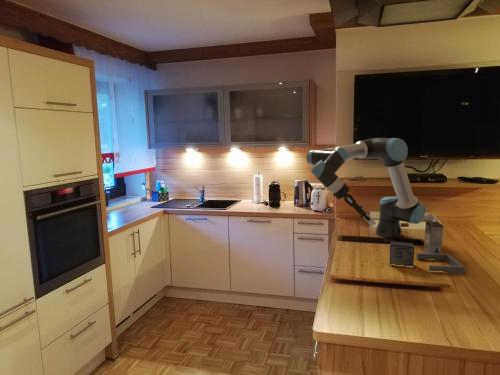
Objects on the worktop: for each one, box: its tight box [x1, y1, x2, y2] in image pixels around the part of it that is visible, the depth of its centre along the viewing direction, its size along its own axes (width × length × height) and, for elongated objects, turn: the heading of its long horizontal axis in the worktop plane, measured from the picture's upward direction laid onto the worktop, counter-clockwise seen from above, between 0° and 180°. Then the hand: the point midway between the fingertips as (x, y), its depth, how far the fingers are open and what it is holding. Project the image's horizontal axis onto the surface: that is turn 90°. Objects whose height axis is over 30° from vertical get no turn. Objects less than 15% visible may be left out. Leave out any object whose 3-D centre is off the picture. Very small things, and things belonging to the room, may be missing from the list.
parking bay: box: [415, 252, 466, 275], centre depth 178 cm, size 18×15×3 cm
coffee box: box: [423, 221, 444, 254], centre depth 194 cm, size 9×6×16 cm
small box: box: [389, 241, 415, 266], centre depth 179 cm, size 11×6×10 cm, turn 71°
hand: (371, 222), depth 178 cm, fingers open, 9 cm apart
